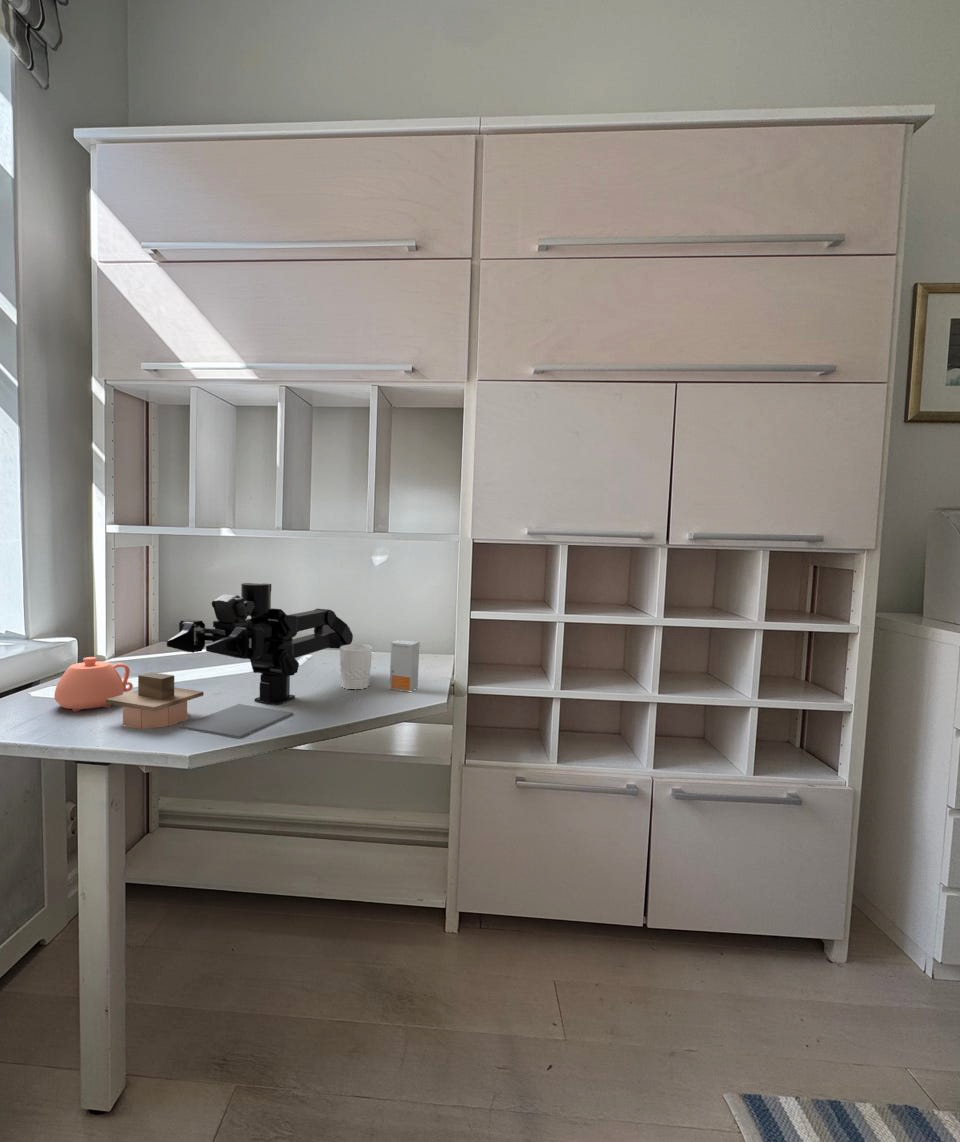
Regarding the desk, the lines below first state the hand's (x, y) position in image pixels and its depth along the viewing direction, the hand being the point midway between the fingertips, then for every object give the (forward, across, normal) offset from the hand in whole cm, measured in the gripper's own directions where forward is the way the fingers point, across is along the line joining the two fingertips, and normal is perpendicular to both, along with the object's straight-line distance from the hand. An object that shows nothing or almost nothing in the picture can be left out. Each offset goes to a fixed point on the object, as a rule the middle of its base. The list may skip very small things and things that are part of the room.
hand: (186, 646), depth 108 cm
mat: (-10, +3, +17) cm, 20 cm away
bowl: (-4, -12, +16) cm, 21 cm away
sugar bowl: (-6, -31, +17) cm, 36 cm away
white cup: (-43, +10, +17) cm, 48 cm away
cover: (-4, -12, +12) cm, 18 cm away
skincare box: (-46, +22, +17) cm, 54 cm away
